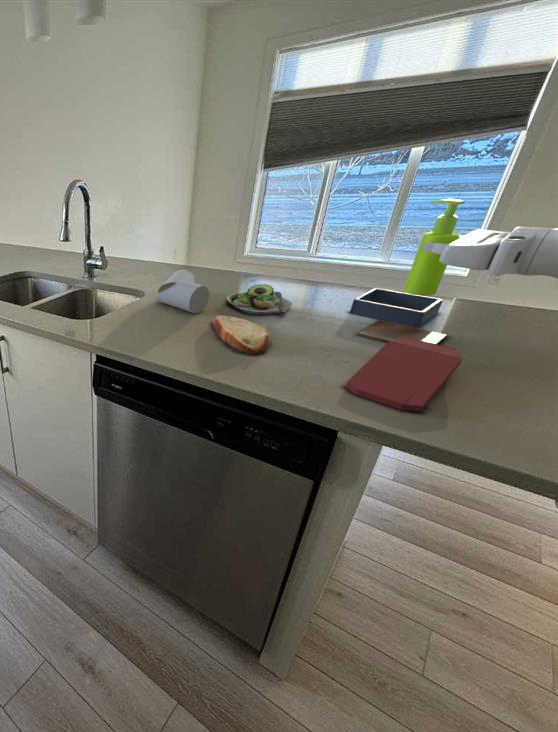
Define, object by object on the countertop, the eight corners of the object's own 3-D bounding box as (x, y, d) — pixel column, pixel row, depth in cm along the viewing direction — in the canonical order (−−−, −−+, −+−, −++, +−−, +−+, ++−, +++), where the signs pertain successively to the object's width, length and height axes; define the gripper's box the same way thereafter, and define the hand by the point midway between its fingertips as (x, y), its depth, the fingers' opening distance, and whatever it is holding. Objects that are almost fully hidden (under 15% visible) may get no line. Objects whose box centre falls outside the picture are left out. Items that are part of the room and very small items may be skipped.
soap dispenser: (409, 285, 99) (443, 197, 89) (441, 293, 93) (481, 199, 83) (392, 289, 98) (424, 200, 88) (423, 297, 92) (461, 202, 82)
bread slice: (218, 319, 117) (220, 307, 116) (285, 333, 106) (288, 319, 104) (188, 340, 107) (189, 327, 105) (258, 358, 95) (261, 343, 94)
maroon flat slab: (410, 429, 74) (462, 367, 84) (419, 409, 72) (471, 347, 81) (338, 403, 83) (392, 349, 93) (343, 384, 80) (399, 331, 90)
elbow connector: (138, 298, 135) (183, 314, 120) (144, 266, 131) (192, 278, 116) (174, 297, 144) (221, 312, 129) (181, 267, 140) (230, 279, 124)
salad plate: (310, 314, 115) (314, 299, 112) (249, 321, 114) (252, 305, 112) (272, 294, 132) (275, 280, 129) (219, 300, 131) (221, 286, 129)
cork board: (446, 337, 97) (447, 334, 97) (427, 352, 91) (428, 350, 91) (378, 322, 107) (379, 319, 107) (358, 335, 102) (358, 332, 101)
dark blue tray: (437, 313, 109) (443, 299, 107) (418, 327, 102) (424, 312, 100) (370, 300, 120) (375, 287, 118) (349, 312, 114) (353, 299, 112)
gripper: (538, 225, 84) (451, 220, 94) (511, 243, 74) (417, 236, 84) (523, 256, 87) (440, 248, 97) (495, 277, 77) (406, 266, 87)
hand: (429, 243), depth 90 cm, fingers closed on soap dispenser, 6 cm apart
